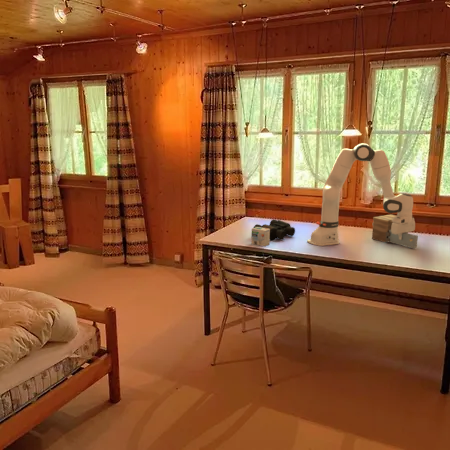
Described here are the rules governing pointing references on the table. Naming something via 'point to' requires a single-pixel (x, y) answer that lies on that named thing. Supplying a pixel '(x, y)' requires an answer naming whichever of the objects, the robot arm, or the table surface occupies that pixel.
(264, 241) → the light bulb box
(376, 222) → the brown wooden crate
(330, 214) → the robot arm
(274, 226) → the binoculars
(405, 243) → the door
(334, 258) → the table surface
